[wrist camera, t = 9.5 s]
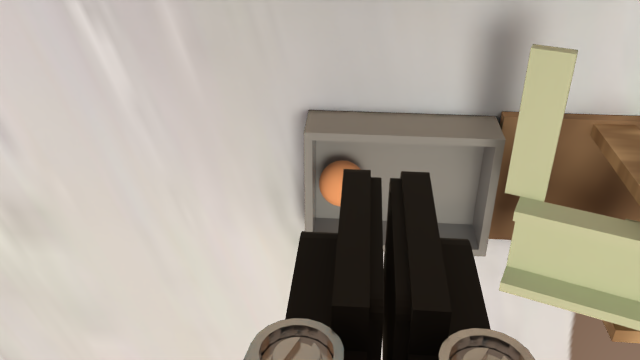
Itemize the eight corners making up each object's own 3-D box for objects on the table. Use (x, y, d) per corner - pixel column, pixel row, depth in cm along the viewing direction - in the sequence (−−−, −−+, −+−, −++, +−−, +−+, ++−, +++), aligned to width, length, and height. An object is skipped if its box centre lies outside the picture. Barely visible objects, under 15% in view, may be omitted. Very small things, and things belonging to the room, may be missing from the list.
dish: (308, 110, 47) (303, 132, 44) (495, 116, 46) (505, 139, 43) (309, 219, 52) (305, 247, 49) (477, 227, 51) (485, 256, 48)
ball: (312, 170, 45) (359, 177, 44) (327, 149, 48) (371, 156, 47) (312, 210, 47) (357, 219, 46) (326, 188, 50) (369, 195, 49)
